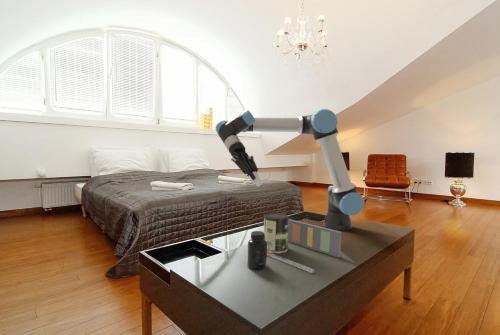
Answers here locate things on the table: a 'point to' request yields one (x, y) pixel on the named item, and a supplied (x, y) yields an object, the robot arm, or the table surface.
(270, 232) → the coffee can
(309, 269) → the front rail
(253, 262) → the supplement bottle
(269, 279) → the table surface
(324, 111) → the robot arm
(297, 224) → the panel board
